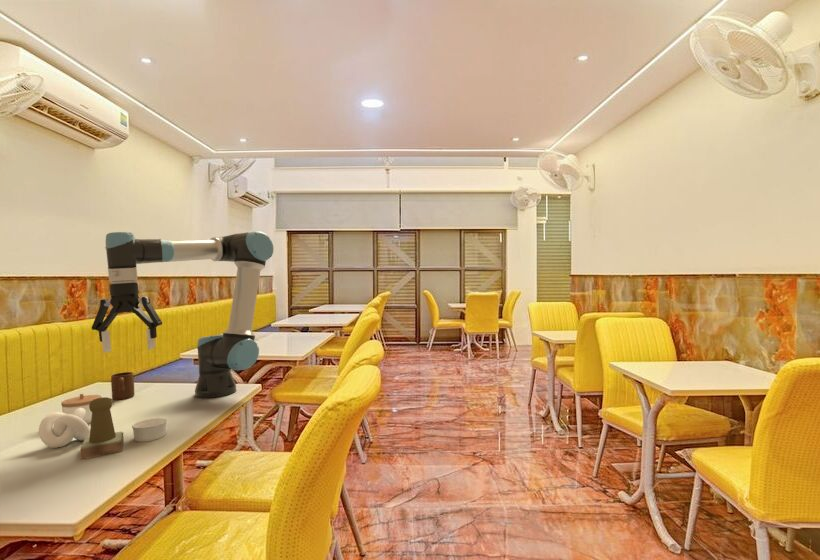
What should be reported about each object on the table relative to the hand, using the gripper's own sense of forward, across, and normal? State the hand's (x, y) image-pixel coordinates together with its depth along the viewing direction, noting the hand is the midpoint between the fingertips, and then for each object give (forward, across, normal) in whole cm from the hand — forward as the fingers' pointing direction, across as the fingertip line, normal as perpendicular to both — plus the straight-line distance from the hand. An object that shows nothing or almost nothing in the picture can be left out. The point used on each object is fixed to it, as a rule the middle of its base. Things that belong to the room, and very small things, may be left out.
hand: (129, 350), depth 142 cm
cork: (+21, +2, -19) cm, 28 cm away
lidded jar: (+24, -21, +7) cm, 33 cm away
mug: (+25, -26, +37) cm, 51 cm away
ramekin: (+24, +10, -11) cm, 28 cm away
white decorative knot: (+24, -12, -12) cm, 29 cm away
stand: (+24, +2, -20) cm, 31 cm away
